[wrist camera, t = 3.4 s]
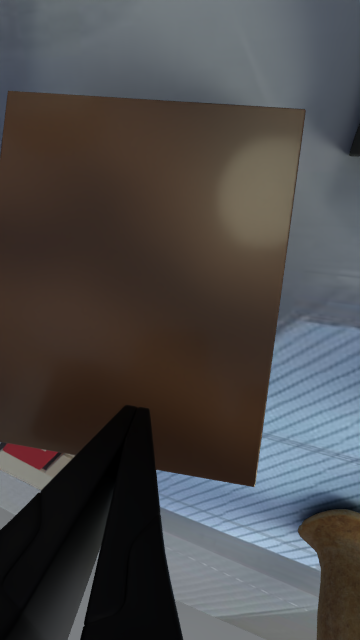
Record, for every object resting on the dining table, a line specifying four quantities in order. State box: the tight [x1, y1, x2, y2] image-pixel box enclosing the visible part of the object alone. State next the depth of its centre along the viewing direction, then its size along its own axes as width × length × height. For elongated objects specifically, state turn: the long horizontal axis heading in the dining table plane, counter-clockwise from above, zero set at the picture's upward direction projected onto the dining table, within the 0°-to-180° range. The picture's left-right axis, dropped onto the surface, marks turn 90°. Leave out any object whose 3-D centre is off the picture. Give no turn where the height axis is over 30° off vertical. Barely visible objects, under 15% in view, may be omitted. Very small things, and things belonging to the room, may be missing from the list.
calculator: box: [0, 442, 75, 490], centre depth 31 cm, size 11×4×15 cm
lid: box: [0, 91, 306, 487], centre depth 11 cm, size 15×12×1 cm
